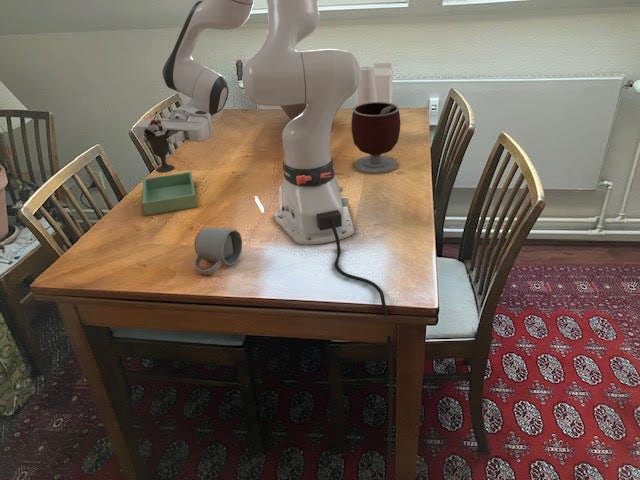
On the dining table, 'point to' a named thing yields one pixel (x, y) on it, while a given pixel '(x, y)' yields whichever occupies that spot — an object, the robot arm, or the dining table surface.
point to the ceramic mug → (217, 247)
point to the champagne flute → (366, 86)
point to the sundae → (159, 143)
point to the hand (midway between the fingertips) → (156, 139)
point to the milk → (383, 82)
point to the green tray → (168, 193)
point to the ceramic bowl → (293, 110)
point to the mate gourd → (375, 135)
